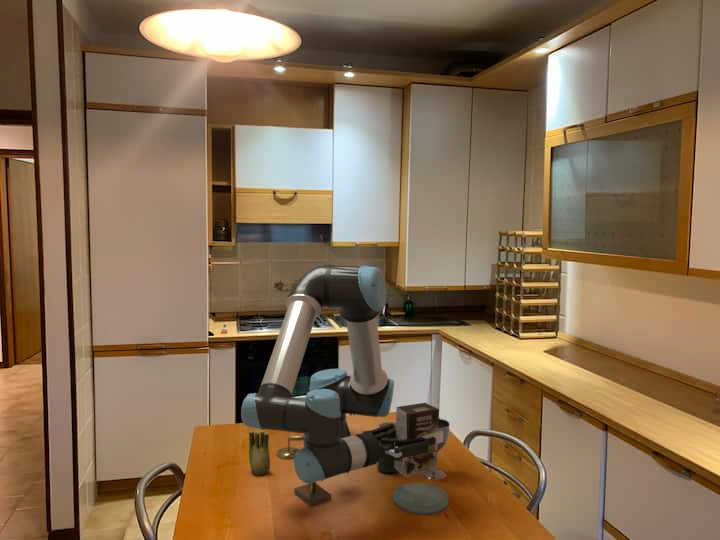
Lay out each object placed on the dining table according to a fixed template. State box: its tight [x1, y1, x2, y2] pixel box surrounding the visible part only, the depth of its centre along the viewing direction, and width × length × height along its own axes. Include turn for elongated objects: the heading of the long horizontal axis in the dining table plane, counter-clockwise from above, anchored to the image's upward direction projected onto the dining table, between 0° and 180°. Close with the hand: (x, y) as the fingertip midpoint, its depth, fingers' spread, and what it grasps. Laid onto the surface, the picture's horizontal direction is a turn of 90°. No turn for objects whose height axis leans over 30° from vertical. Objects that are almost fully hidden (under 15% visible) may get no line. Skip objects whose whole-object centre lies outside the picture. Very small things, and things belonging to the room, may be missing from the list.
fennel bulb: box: [248, 430, 271, 476], centre depth 157 cm, size 6×5×12 cm
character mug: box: [376, 421, 399, 474], centre depth 160 cm, size 11×7×13 cm, turn 168°
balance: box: [276, 435, 332, 507], centre depth 143 cm, size 8×20×18 cm, turn 126°
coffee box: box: [394, 402, 440, 479], centre depth 140 cm, size 9×6×16 cm
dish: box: [393, 482, 449, 516], centre depth 143 cm, size 14×14×1 cm
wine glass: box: [421, 417, 450, 481], centre depth 158 cm, size 8×8×15 cm
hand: (431, 431), depth 143 cm, fingers closed on coffee box, 7 cm apart
